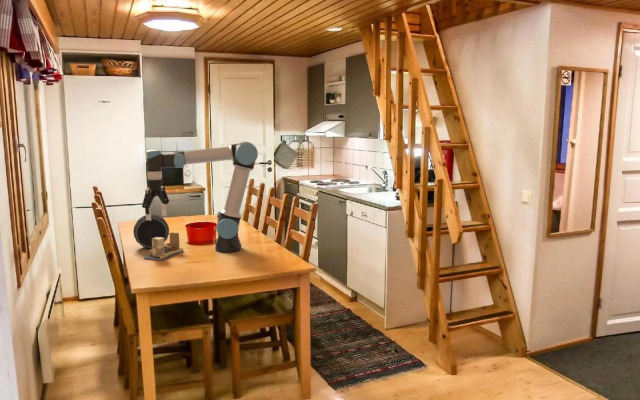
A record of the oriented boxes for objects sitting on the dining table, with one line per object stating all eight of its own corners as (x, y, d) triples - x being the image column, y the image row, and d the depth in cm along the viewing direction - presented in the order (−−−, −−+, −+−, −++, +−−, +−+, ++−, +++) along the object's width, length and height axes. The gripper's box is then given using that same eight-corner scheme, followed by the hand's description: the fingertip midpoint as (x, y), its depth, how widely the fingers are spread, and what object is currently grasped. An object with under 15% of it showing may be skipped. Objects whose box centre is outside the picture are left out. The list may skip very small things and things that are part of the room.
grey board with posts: (183, 251, 293) (182, 232, 291) (161, 260, 273) (160, 240, 271) (167, 249, 296) (166, 231, 294) (144, 259, 277) (143, 239, 275)
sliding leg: (164, 255, 278) (164, 237, 277) (160, 257, 275) (159, 239, 273) (152, 254, 281) (151, 236, 279) (148, 255, 277) (147, 238, 276)
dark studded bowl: (170, 248, 300) (168, 215, 296) (134, 251, 293) (132, 217, 290) (169, 244, 310) (167, 212, 306) (134, 246, 303) (132, 214, 300)
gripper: (163, 176, 284) (165, 213, 287) (133, 181, 261) (135, 221, 264) (174, 176, 281) (176, 214, 285) (145, 182, 258) (147, 222, 262)
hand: (156, 217), depth 274 cm, fingers open, 13 cm apart
